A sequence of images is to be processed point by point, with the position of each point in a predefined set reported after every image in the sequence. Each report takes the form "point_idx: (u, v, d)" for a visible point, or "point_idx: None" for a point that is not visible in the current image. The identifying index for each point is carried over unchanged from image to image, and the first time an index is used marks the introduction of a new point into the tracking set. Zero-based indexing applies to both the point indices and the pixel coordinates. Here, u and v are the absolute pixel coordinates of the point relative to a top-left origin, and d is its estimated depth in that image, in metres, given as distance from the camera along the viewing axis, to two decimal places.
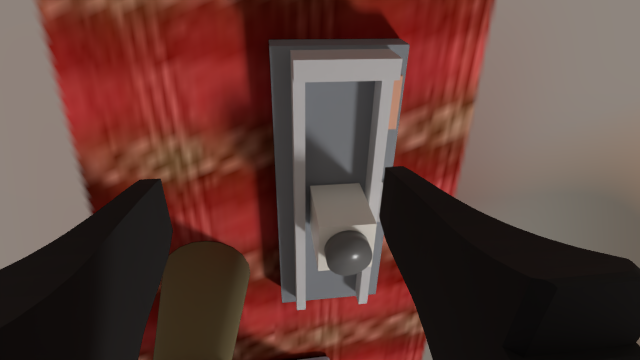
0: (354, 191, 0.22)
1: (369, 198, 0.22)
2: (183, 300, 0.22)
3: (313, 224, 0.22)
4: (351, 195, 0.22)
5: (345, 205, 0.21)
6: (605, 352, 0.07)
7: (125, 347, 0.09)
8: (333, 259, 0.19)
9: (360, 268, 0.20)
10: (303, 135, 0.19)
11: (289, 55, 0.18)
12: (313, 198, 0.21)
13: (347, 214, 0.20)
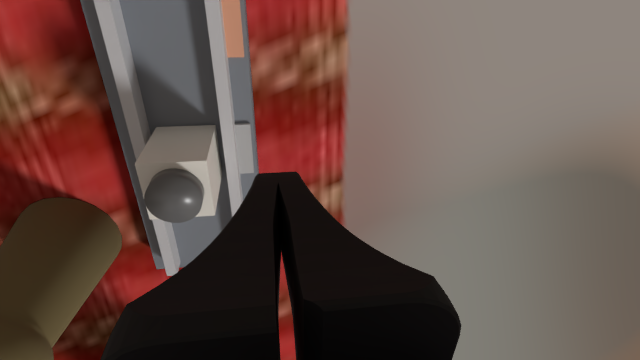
0: (203, 132, 0.19)
1: (222, 140, 0.19)
2: (7, 257, 0.19)
3: None
4: (197, 135, 0.19)
5: (182, 144, 0.18)
6: None
7: None
8: (153, 201, 0.16)
9: (191, 214, 0.17)
10: (121, 57, 0.17)
11: None
12: (151, 138, 0.18)
13: (178, 151, 0.17)
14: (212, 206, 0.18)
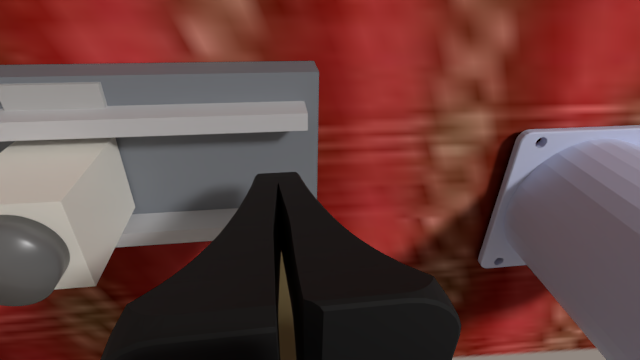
0: None
1: (9, 140, 0.11)
2: None
3: None
4: None
5: None
6: None
7: None
8: (14, 296, 0.10)
9: (25, 251, 0.09)
10: None
11: None
12: None
13: None
14: (38, 204, 0.09)
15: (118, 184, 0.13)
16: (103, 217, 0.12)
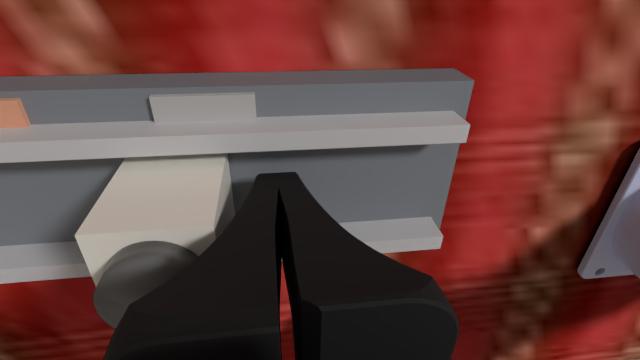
0: None
1: (166, 154, 0.11)
2: None
3: None
4: None
5: None
6: None
7: None
8: None
9: None
10: (54, 267, 0.12)
11: None
12: None
13: None
14: (190, 229, 0.09)
15: (230, 200, 0.12)
16: None
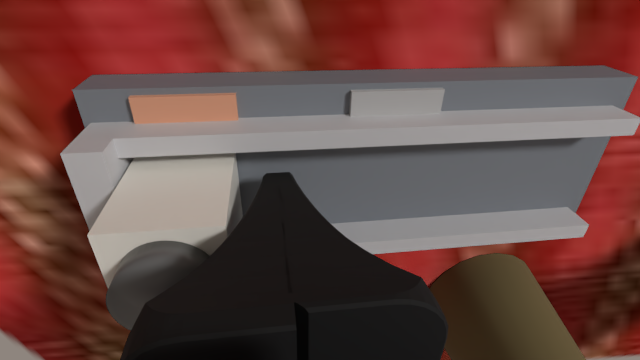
0: None
1: (368, 146, 0.11)
2: None
3: None
4: None
5: None
6: None
7: None
8: None
9: None
10: None
11: None
12: None
13: None
14: (202, 229, 0.09)
15: (238, 200, 0.12)
16: None
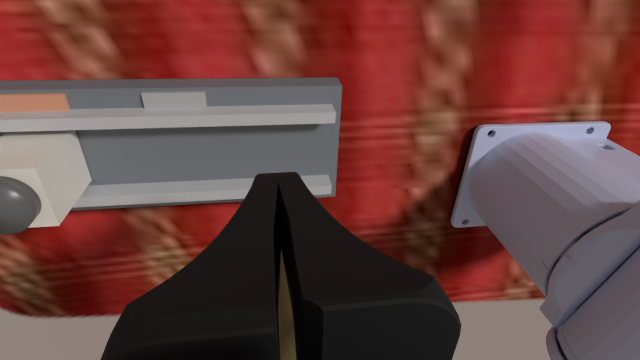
0: None
1: (151, 127, 0.18)
2: None
3: None
4: None
5: None
6: None
7: None
8: (5, 227, 0.16)
9: (12, 197, 0.15)
10: (81, 199, 0.20)
11: None
12: None
13: None
14: (21, 169, 0.15)
15: (77, 162, 0.19)
16: (65, 182, 0.18)
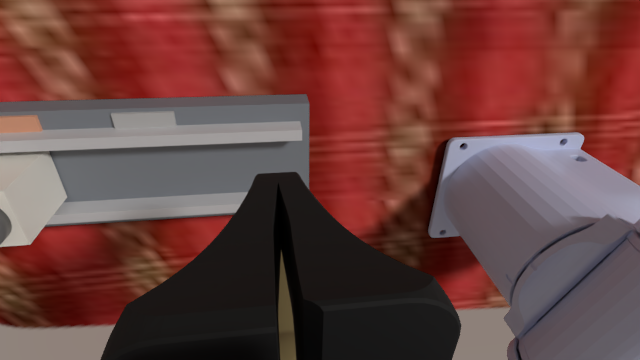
0: None
1: (120, 147, 0.19)
2: None
3: None
4: None
5: None
6: None
7: None
8: None
9: None
10: (56, 216, 0.20)
11: None
12: None
13: None
14: None
15: (51, 181, 0.19)
16: (37, 202, 0.18)
